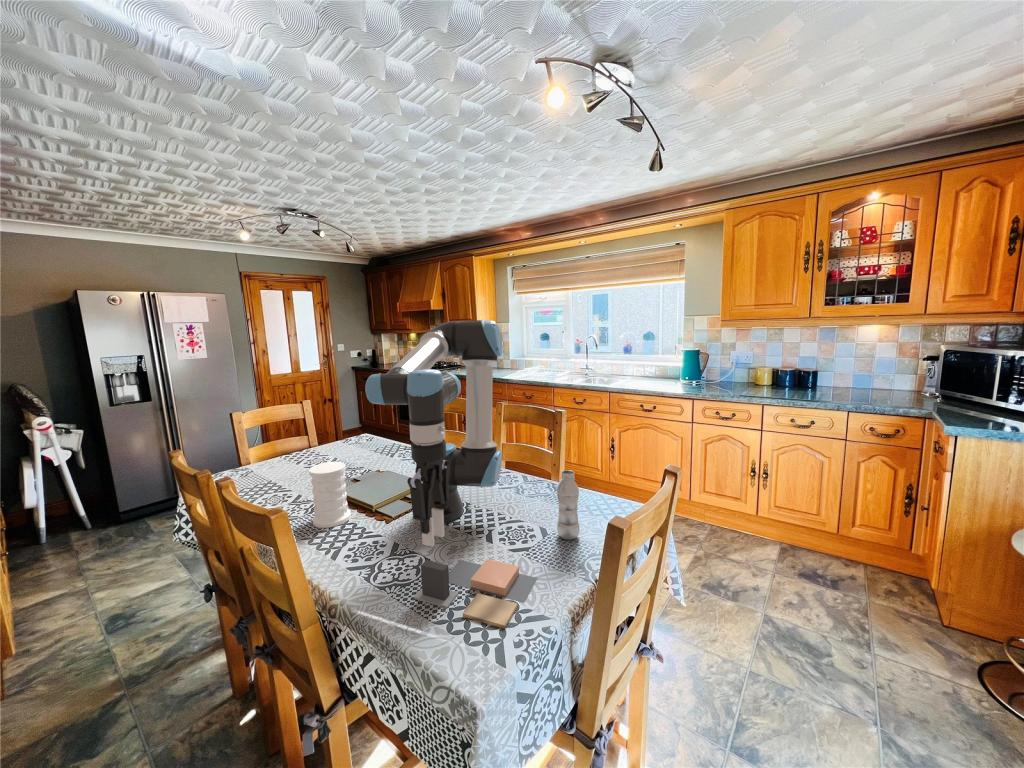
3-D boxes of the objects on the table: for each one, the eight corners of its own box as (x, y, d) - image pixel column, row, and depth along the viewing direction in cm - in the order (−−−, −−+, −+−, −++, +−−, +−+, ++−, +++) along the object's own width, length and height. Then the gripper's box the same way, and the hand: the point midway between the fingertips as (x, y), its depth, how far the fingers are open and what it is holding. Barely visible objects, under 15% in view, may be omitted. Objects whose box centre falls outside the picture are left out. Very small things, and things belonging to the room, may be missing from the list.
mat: (441, 582, 99) (440, 580, 99) (460, 561, 108) (460, 559, 108) (524, 604, 91) (524, 602, 91) (537, 579, 99) (537, 577, 99)
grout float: (413, 600, 93) (411, 567, 92) (426, 587, 98) (424, 555, 96) (447, 610, 90) (445, 575, 88) (458, 596, 94) (456, 563, 93)
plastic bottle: (574, 544, 115) (574, 478, 112) (553, 538, 118) (552, 474, 115) (583, 534, 120) (583, 470, 117) (562, 529, 124) (562, 466, 120)
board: (462, 618, 87) (462, 613, 87) (477, 597, 93) (477, 593, 93) (505, 630, 83) (505, 625, 83) (517, 608, 90) (517, 603, 89)
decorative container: (338, 508, 141) (334, 459, 138) (358, 516, 134) (353, 465, 132) (306, 521, 132) (300, 469, 129) (325, 531, 125) (319, 476, 122)
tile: (470, 579, 96) (504, 588, 92) (486, 558, 104) (519, 566, 101) (470, 587, 96) (505, 596, 93) (487, 566, 104) (519, 574, 101)
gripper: (420, 454, 79) (427, 563, 82) (461, 432, 94) (465, 525, 98) (389, 450, 82) (397, 556, 85) (434, 429, 97) (439, 520, 100)
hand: (433, 539), depth 91 cm, fingers open, 3 cm apart
